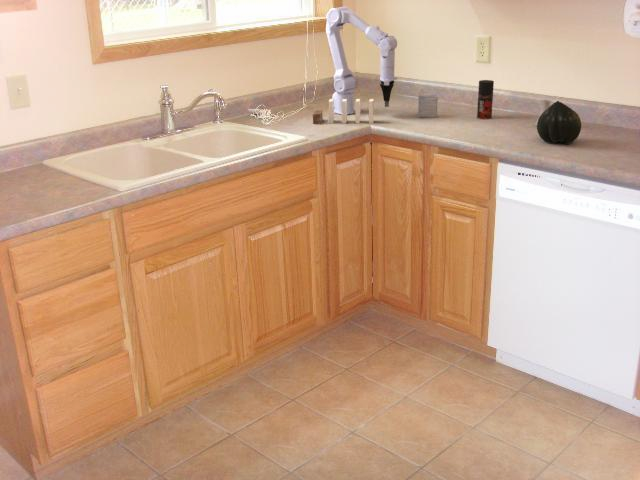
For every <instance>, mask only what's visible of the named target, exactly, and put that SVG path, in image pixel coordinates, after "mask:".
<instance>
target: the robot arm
mask: <svg viewBox="0 0 640 480" xmlns="http://www.w3.org/2000/svg"><path fill="white" fill-rule="evenodd" d="M325 17H326V25H325V32H326V37H327V41H328V45H329V46H328V47H329V49H330V54H331V57H332V58H331V59H332V62H333V66H334V70H335V73H334V75H333V80H334V82H333V88H334V91H335V92H334V93H333V94H332V96H331V99H334V114H338V115H342V100H343V99H347V115H352V114H356V110H355V107H354V106H355V105H354V104H355V103H354V102H355V100H354V91H355V88H356V86H357V79H356V77H355V76H354V74H353V72H352V70H351V69H350V68H349V66H348V62H347V58H346V53H345V50H344V46H343V42H342V37H341V34H340V31H341V29H342V28H343V26H344V25H345V24H351V25H352V26H354V27H356V28H357V29H359V30H360V31H362V32H364V33H365V37H366V38H367V39H368V40H370V41H371V42H372V43H374V44H375V45H376V46H377V47H378V49H379V52H380V71H379V74H380V77H379V80H380V83H379V86H380V89H381V92H382V97H383V101H384V102H385V101H389V102H390V100H391V95H392V94H391V93H392V90H393V87H394V85H395V80H396V81H397V80H398V77H397V76H395V65H396V64H395V61H396V60H395V57H396V55H395V53H396V52H395V49H396V48H397V46H398V40H397V38H396V37H395V36H394V35H389V34H388V33H387V32H384V31H383V30H381V29H380V26H378V25H369V24H368V23H367V21H365V20H363V18H361V17H360V16H359V15H357V14H356V13H355V12H354V10H352V9H351V8H349V7H347V6H345V5H344V6H341V7H332V8H330V9H329V10H328V12H327V13H326V15H325Z"/></svg>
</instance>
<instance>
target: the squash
mask: <svg viewBox="0 0 640 480" xmlns="http://www.w3.org/2000/svg"><path fill="white" fill-rule="evenodd" d="M538 117H539V116H538ZM537 119H538V118H537ZM536 129H537V134H538V135H539V138H541V140H543V141H544V142H545V143H547V144H553V143H557V142H558V141H559V142H561V143H563V144H565V145H569V144H571V143H573V142H574V141H575V140H577V138H579V136H580V133H581V131H582V120H581V118H580V115H579V114H578V113H577V112H576V111H575V110H573V109H572V108H571V107H570V106H568V105H566V104H565V103H563V102H561V101H558V100H557V101H555V102H553V103H552V104H550V106H549V108H548V109H546V110H545V111H544V112H543V113H542V114H541V116H540V117H539V119H538V123H537V127H536Z"/></svg>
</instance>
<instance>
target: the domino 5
mask: <svg viewBox="0 0 640 480" xmlns="http://www.w3.org/2000/svg"><path fill="white" fill-rule="evenodd" d="M389 107H390V100H389V101H384V108H389Z"/></svg>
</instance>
